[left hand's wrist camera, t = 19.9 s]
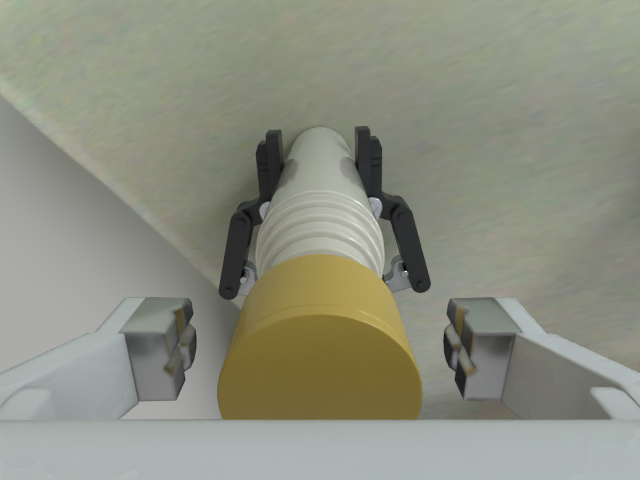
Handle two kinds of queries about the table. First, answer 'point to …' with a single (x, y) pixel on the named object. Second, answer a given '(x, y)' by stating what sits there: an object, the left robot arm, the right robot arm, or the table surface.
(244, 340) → the cap
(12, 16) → the table surface
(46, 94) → the table surface
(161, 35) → the table surface
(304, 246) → the bottle
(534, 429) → the left robot arm
